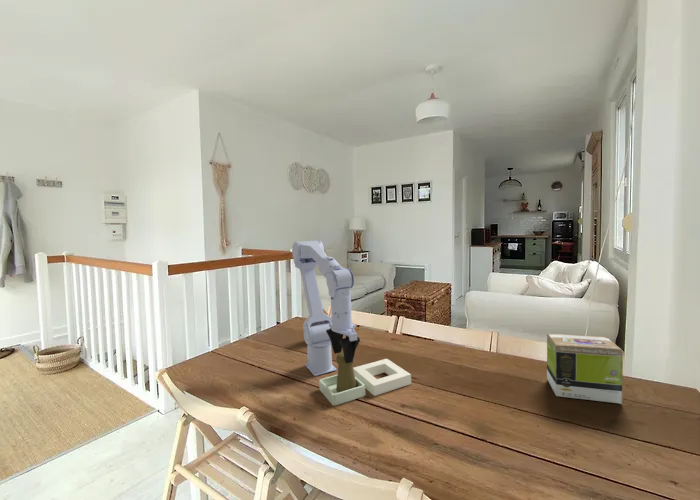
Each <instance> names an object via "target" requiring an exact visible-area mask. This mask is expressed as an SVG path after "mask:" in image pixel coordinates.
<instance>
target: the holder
mask: <svg viewBox="0 0 700 500" xmlns="http://www.w3.org/2000/svg"><path fill="white" fill-rule="evenodd" d="M353 369H354V375H355V377H357V378H358V379H359V380H360V381H361V382H362V383H363V384H365V390H367V391H368V392H369V393H370V394H371V395H373V396H374V397H376V396H379V395H381V394H382V395H383V394H385V393H388V392H391V391H393V390H397V389H400V388H402V387H403V388H404V387H406V386H409V385H411V384H412V373H409V371H407V370H405V369H403V368H402V367H401V366H399V365H397V364H396V363H394V362H393V361H391V360H390V359H388V358H384V359H380V360H377V361H374V362H370V363H364V364H362V365H358V366H353ZM383 373H385V374H386V375H387V376H384V377H380V378H377V377H375V376H378V375H382V374H383Z"/></svg>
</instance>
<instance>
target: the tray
mask: <svg viewBox="0 0 700 500" xmlns="http://www.w3.org/2000/svg"><path fill="white" fill-rule="evenodd" d="M337 376H338V373H337V374H334V375H331V376H327V377H323V378H320V379H319V380H318V383H319V391H320V392H321V393H322V394H323V396H324V397H325V398H326V399H327V401H328V402H329V403H330V404H331V405H332V406H334V407H335V406H339V405H340V404H341V405H342V404H344V403H348V402H351V401H354V400H356V399H360V398H363V397H365V396H366V388H365V384H363V383H362V382H361V381H360V380H359V379H358V378H357V377H355V381H356V386H357V387H355V388H352V389H349V390H345V391H342V392H339V393H338V392H337V391H336V387H337Z"/></svg>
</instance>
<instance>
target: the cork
mask: <svg viewBox="0 0 700 500" xmlns="http://www.w3.org/2000/svg"><path fill="white" fill-rule="evenodd" d="M335 359H336V362H337V363H336V364H337V365H338V368H337V374H338V376H337V387H336V391H337V392H338V393H339V392H342V391H345V390H349V389H352V388H355V387H357V386H356V381H355V375H354V369H353V368H354V363H355V358H354V359H353V362H351V363H345V360H344V353H343V351H341V352H340V353H337V356H336V358H335Z"/></svg>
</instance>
